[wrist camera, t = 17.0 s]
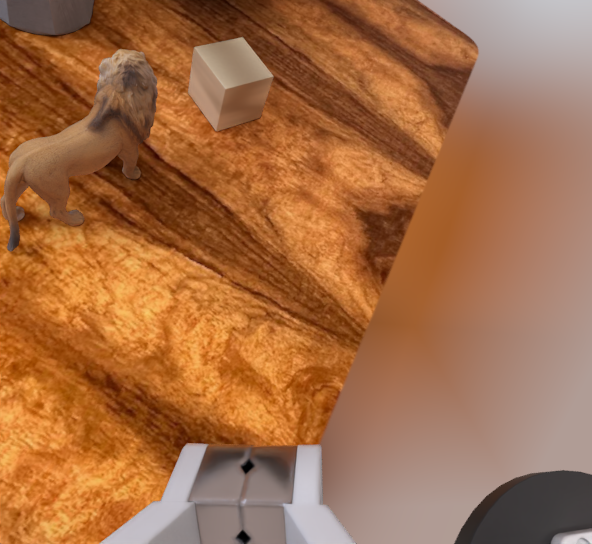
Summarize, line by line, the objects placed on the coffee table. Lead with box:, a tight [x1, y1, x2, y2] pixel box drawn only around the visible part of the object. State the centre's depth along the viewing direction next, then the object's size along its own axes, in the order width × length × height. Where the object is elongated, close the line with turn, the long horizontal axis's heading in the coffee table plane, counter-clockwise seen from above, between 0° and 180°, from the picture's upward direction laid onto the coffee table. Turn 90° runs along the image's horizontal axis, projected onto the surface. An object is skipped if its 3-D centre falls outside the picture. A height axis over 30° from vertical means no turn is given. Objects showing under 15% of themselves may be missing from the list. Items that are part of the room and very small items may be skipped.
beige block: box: [188, 37, 274, 132], centre depth 41 cm, size 5×5×5 cm
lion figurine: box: [0, 49, 158, 251], centre depth 32 cm, size 15×5×9 cm, turn 153°
